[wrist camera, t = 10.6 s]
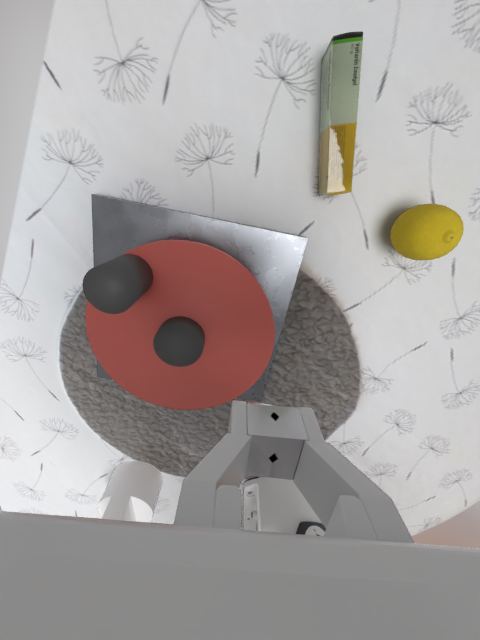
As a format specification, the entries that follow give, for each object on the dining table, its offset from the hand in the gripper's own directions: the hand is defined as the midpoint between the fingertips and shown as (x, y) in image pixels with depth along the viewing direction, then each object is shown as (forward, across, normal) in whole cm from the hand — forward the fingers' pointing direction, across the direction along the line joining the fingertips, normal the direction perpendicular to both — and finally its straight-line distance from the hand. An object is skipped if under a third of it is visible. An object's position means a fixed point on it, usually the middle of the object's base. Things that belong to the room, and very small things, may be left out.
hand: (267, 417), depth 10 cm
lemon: (+25, -17, -7) cm, 31 cm away
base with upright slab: (+26, +15, +40) cm, 50 cm away
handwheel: (+19, +7, +6) cm, 21 cm away
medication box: (+25, -6, -16) cm, 30 cm away
